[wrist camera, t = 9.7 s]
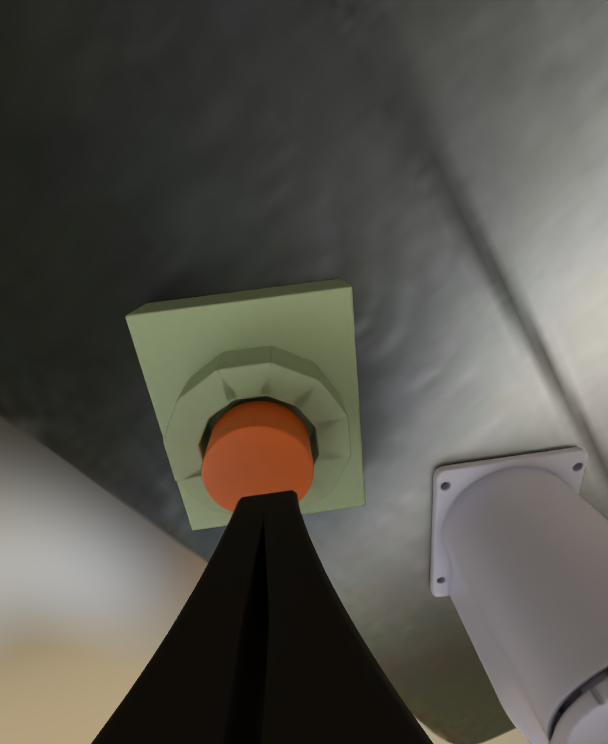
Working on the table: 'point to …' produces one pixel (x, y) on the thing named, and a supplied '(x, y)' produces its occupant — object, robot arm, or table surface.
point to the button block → (256, 381)
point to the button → (257, 454)
